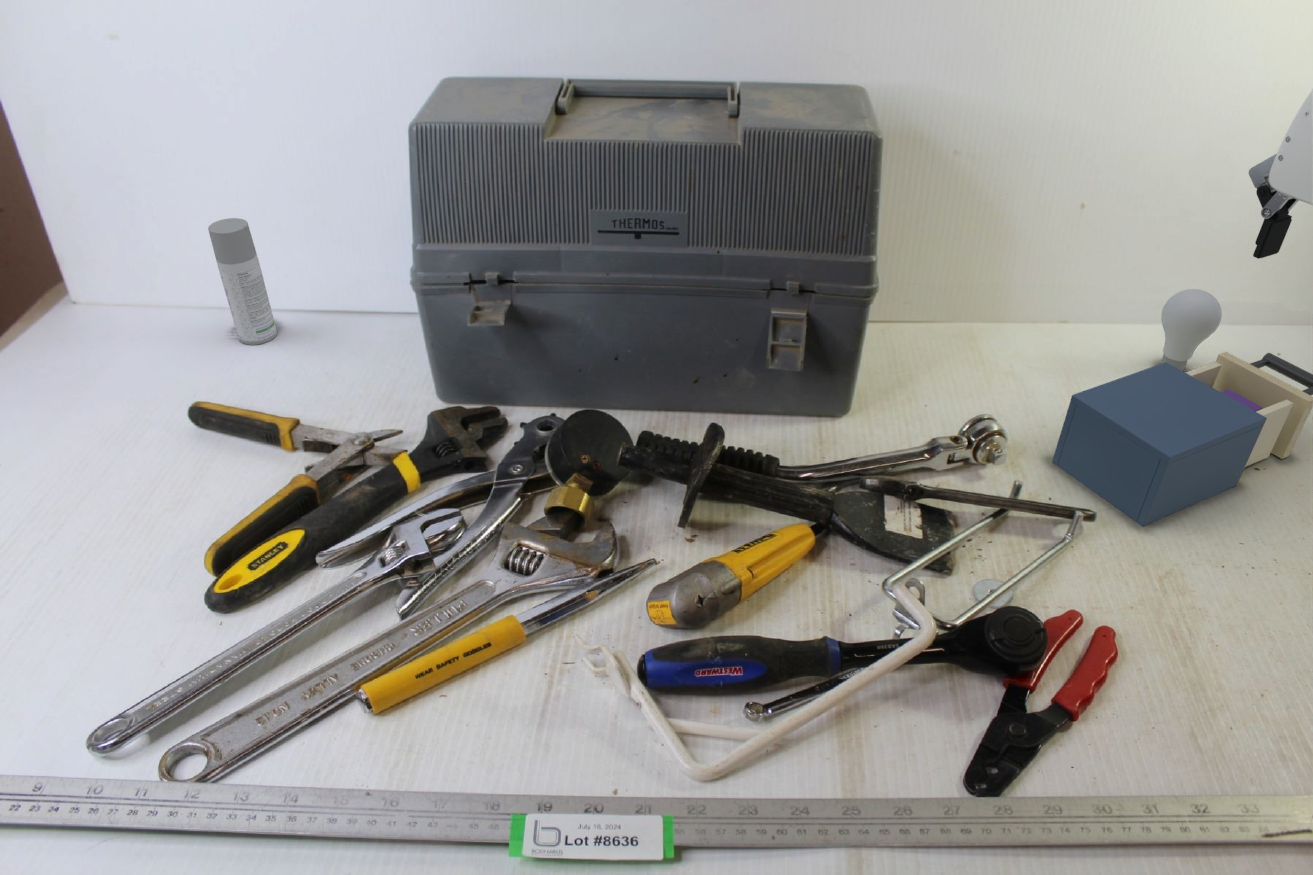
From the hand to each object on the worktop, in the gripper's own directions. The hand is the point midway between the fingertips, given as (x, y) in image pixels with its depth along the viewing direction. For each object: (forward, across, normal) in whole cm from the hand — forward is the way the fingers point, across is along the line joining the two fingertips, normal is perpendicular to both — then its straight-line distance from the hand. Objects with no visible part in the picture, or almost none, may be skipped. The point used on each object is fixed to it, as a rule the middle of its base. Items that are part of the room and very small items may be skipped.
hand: (1295, 266), depth 96 cm
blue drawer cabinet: (+20, -2, +16) cm, 26 cm away
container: (+20, +70, +92) cm, 118 cm away
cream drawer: (+19, -2, +4) cm, 19 cm away
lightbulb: (+20, +10, -4) cm, 23 cm away
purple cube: (+18, -2, +5) cm, 18 cm away
